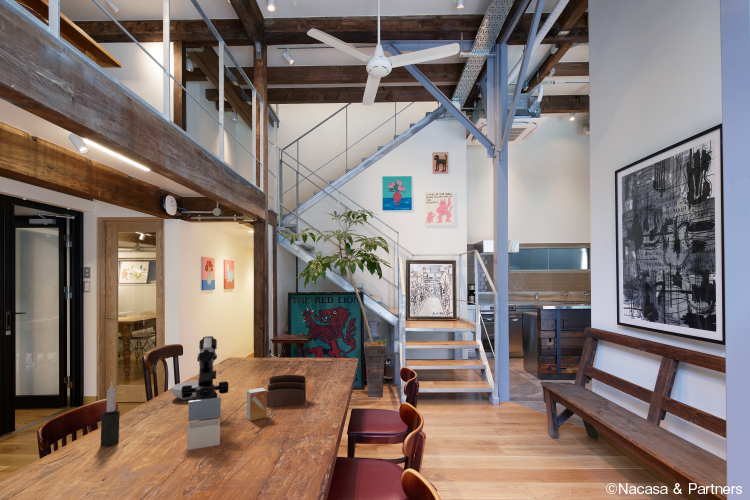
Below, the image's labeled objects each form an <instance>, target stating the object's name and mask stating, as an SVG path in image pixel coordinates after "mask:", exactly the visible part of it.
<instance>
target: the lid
mask: <svg viewBox="0 0 750 500" xmlns="http://www.w3.org/2000/svg"><path fill="white" fill-rule="evenodd" d="M221 401H222V399H221V396H220V397H219V396H218V397H217V398H210V399H202V400H197V399H195V400H188V417H187V418H188V422H195V421H203V420H210V419H218V418H221V413H222V412H221V408H222V405H221V404H222V402H221Z"/></svg>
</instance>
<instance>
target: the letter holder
mask: <svg viewBox="0 0 750 500" xmlns="http://www.w3.org/2000/svg"><path fill="white" fill-rule="evenodd" d="M306 382H307V381H306V376H305V375H300V374H281V375H274V376H270V377H269V384H268V385H267V407H292V406H304V405H305V402H306V399H307V397H306V392H307V391H306V388H307V387H306Z"/></svg>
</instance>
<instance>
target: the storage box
mask: <svg viewBox="0 0 750 500" xmlns="http://www.w3.org/2000/svg"><path fill="white" fill-rule="evenodd" d="M187 425H188V426H187V433H186V434H187V435H186V438H187V439H186V451H190V450H195V449H203V448H209V447H213V446H214V447H215V446H220V445H221V443H220V442H221V417H217V418H210V419H202V420H195V421H188V424H187Z"/></svg>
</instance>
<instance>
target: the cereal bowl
mask: <svg viewBox="0 0 750 500" xmlns="http://www.w3.org/2000/svg"><path fill="white" fill-rule="evenodd" d="M186 385H192V388H197V387H198V381H186V382H181V383H176V384H174V385H173V386H172V387H171V392H172V395H173V396H174V397H175V398H177V399H180V400H182V401H184V400H185V401H188V400H192V399H195V398H196V393H192V396H191V397H188V398H182V392H181V390H182V387H183V386H186ZM187 399H188V400H187Z"/></svg>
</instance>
